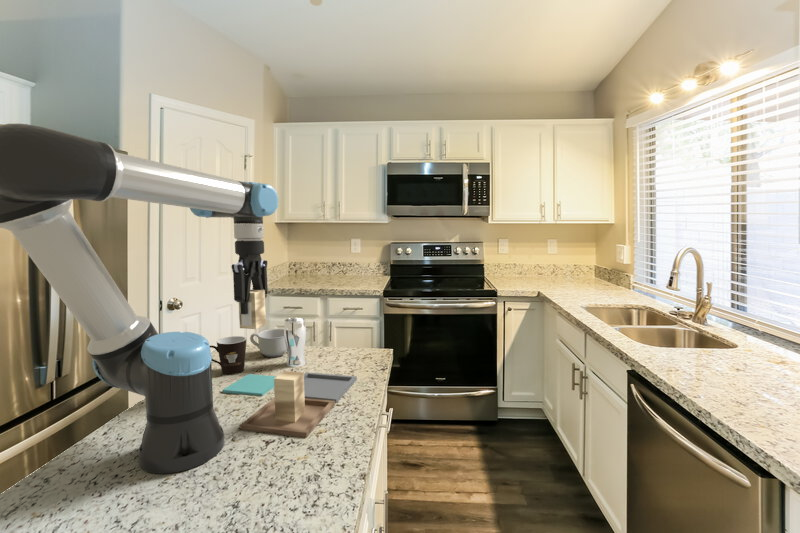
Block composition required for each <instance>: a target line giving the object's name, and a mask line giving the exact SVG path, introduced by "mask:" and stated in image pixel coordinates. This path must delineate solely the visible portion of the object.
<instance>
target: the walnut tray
mask: <svg viewBox="0 0 800 533" xmlns="http://www.w3.org/2000/svg"><path fill="white" fill-rule="evenodd" d="M335 405H336V403H335V401H330V400H319V399H309V398H305V413H304V414H303V415H302V416H301V417H300V418H299V419H298V420H297V421H296V422H287V421H279V420H275V397H273V398H271V400H270V401H268V402H267V403H266V404H264V405H263V406H262V407H260V409H258V410H257V411H256V412H254V413H253V414H252V415H250V416H249V417H248V418H247V419H245V421H243V422H241V423H240V425H239V429H240V431H241V430H242V431H251V432H257V433H259V432H260V433H266V434H274V435H284V436H291V437H292V436H293V437H299V438H307V437H309V435H310V434H311V433H312V432H313V431H314V430H315V429H316V427H317V426H318V425H320V423H321V422H322V421H323V419H324V418H325V417H326V416H327V415H328V414H329V413H330V411H331V410H332V409H333V408H334V407H335Z"/></svg>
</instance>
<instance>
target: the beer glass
mask: <svg viewBox="0 0 800 533" xmlns="http://www.w3.org/2000/svg"><path fill="white" fill-rule="evenodd" d="M283 321H284V322H283V323H284V325H283V326H284V327H283V329H284V338H285V343H286V348H287V351H286V352H287V357H286V358H287V360H286V366H287V367H289V368H297V367H302V366H305V365H306V363H307V362H306V359H305V358H306V357H305V346H306V341H307V325H306V324H307V323H306V318H305V317H296V316H295V317H287V318H286V319H284V320H283Z"/></svg>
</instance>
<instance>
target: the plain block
mask: <svg viewBox="0 0 800 533" xmlns="http://www.w3.org/2000/svg"><path fill="white" fill-rule="evenodd" d="M304 374H305V373H304V372H302V371H289V370H284V371H282V372H281V373H280V374H279V375H277V377H276V378H274V388H273V390H274V398H275V420H279V421H287V422H296V421H297V420H298V419H299V418H300V417H301V416H302V415H303V414H304V413H305V395H304Z"/></svg>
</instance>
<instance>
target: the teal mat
mask: <svg viewBox="0 0 800 533" xmlns="http://www.w3.org/2000/svg"><path fill="white" fill-rule="evenodd" d="M277 376H278V375H277ZM277 376H274V375H266V374H265V375H264V374H253V373H252V374H251V373H248V374H246V375H245V376H243V377H241V378H239V379H238V380H237V381H234V382H233V383H232V384H230V385H228V386H226V387H224V388H223V389H222V393H223V394H233V395H239V394H240V395H250V396H259V397H263V396H264V395H266V394H267V393H268V392H270V391H271V390H272V389H274V378H276V377H277Z"/></svg>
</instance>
